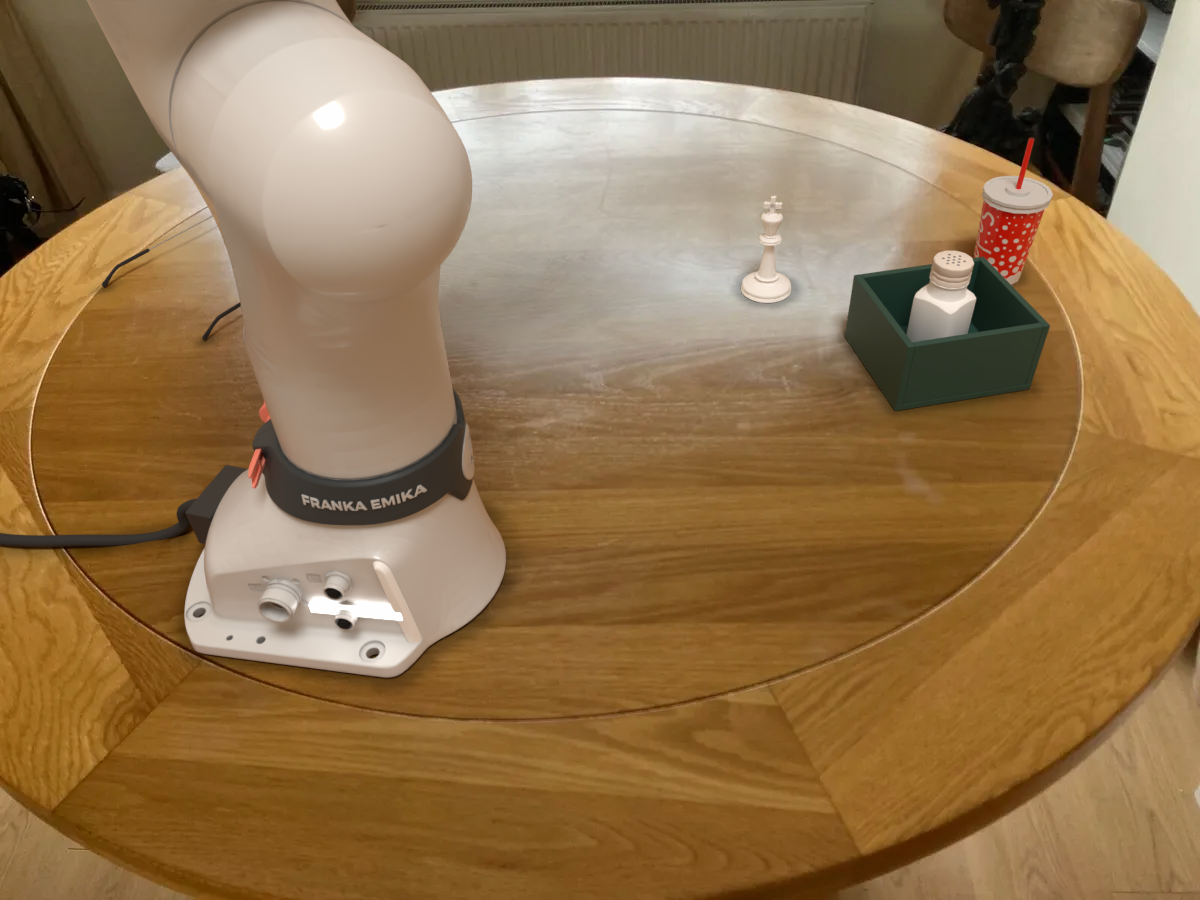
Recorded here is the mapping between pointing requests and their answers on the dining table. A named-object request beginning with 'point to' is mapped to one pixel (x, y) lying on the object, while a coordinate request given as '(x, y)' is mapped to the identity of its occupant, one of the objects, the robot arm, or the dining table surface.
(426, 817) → the dining table surface
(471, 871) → the dining table surface
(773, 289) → the chess piece
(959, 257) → the pepper shaker
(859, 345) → the bin
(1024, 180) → the beverage cup
